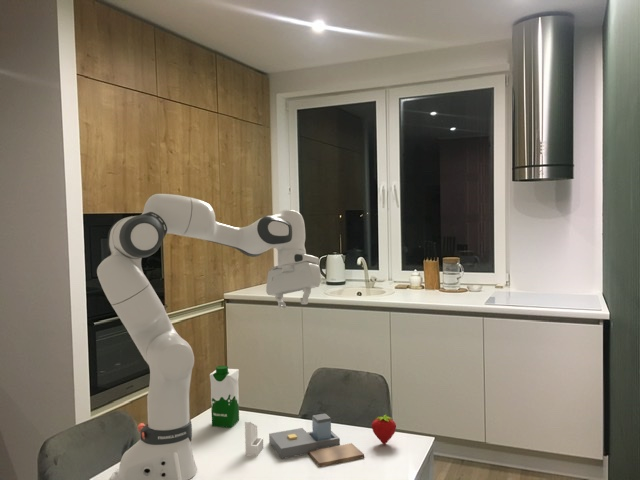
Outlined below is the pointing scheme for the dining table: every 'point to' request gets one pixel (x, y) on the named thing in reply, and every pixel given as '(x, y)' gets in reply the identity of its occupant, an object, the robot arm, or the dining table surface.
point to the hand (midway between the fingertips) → (292, 306)
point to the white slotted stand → (252, 440)
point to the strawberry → (384, 428)
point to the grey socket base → (298, 442)
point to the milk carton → (224, 397)
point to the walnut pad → (336, 454)
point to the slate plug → (321, 427)
